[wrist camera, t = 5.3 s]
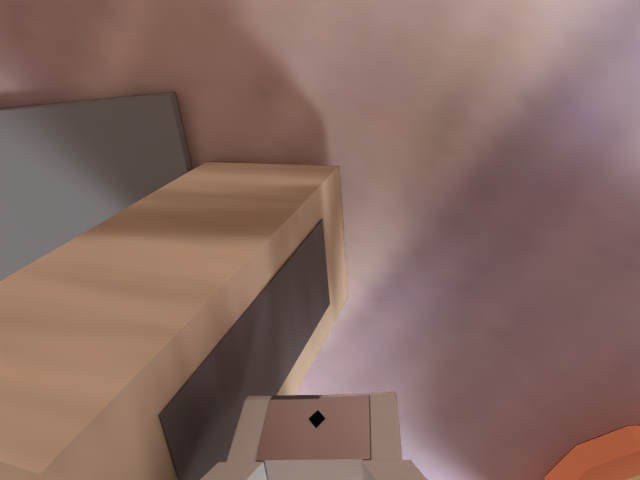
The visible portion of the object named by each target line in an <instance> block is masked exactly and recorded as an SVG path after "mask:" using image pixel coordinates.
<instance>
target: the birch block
mask: <svg viewBox="0 0 640 480" xmlns="http://www.w3.org/2000/svg"><path fill="white" fill-rule="evenodd" d="M347 298H348V287H347V272H346V257H345V242H344V227H343V212H342V197H341V182H340V167H339V166H326V165H293V164H260V163H227V162H205V163H203V164H202V165H200V166H198V167H196V168H195V169H193V170H191V171H189V172H188V173H186V174H184V175H183V176H181V177H179V178H177V179H176V180H174V181H172V182H170V183H169V184H167V185H165V186H164V187H162V188H160V189H158V190H157V191H155V192H153V193H151V194H150V195H148V196H146V197H145V198H143V199H141V200H139V201H138V202H136V203H134V204H132V205H131V206H129V207H127V208H126V209H124V210H122V211H120V212H119V213H117V214H115V215H113V216H112V217H110V218H108V219H107V220H105V221H103V222H101V223H100V224H98V225H96V226H94V227H93V228H91V229H89V230H88V231H86V232H84V233H82V234H81V235H79V236H77V237H75V238H74V239H72V240H70V241H69V242H67V243H65V244H63V245H62V246H60V247H58V248H56V249H55V250H53V251H51V252H50V253H48V254H46V255H44V256H43V257H41V258H39V259H37V260H36V261H34V262H32V263H31V264H29V265H27V266H25V267H24V268H22V269H20V270H18V271H17V272H15V273H13V274H12V275H10V276H8V277H6V278H5V279H3V280H1V281H0V480H200V479H201V478H202V477H203V476H204V475H205V474H206V473H208V472H209V471H210V470H211V469H212V468H213V467H214V466H215V465H216V464H217V463H218V462H226V460H227V457H228V454H229V450H230V447H231V444H232V440H233V437H234V434H235V430H236V427H237V423H238V420H239V417H240V413H241V410H242V407H243V403H244V401H245V400H246V398H247V397H248V396H273V395H295V394H296V392H297V390H298V389H299V387H300V385H301V383H302V381H303V379H304V377H305V376H306V374H307V372H308V370H309V368H310V366H311V365H312V363H313V361H314V359H315V357H316V355H317V354H318V352H319V350H320V348H321V346H322V344H323V342H324V341H325V339H326V337H327V335H328V333H329V331H330V330H331V328H332V326H333V324H334V322H335V320H336V319H337V317H338V315H339V313H340V311H341V309H342V307H343V306H344V304H345V302H346V300H347Z"/></svg>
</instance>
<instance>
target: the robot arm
mask: <svg viewBox="0 0 640 480" xmlns="http://www.w3.org/2000/svg"><path fill="white" fill-rule="evenodd" d="M200 480H427V478H426V477H425V476H424V475H423V474H422V473H421V472H420V470H419V469H418V468H417V467H416V466H415V465H414V464H413V462H412V461H411V460H402V449H401V438H400V426H399V415H398V404H397V395H396V393H395V392H382V393H365V394H337V395H273V396H248V397H247V398H246V400H245V401H244V403H243V407H242V410H241V413H240V417H239V420H238V423H237V427H236V430H235V434H234V437H233V440H232V444H231V447H230V450H229V454H228V457H227V460H226V462H218V463H217V464H216V465H215V466H214V467H213V468H212V469H211V470H210V471H209V472H208V473H206V474H205V475H204V476H203V477H202V478H201V479H200Z"/></svg>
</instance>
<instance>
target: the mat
mask: <svg viewBox="0 0 640 480" xmlns="http://www.w3.org/2000/svg"><path fill="white" fill-rule="evenodd" d="M191 170H192V166H191V162H190V157H189V153H188V148H187V144H186V139H185V135H184V130H183V126H182V121H181V117H180V112H179V108H178V103H177V99H176V94H175V92H170V93H160V94H149V95H138V96H128V97H117V98H107V99H96V100H85V101H75V102H64V103H54V104H43V105H32V106H22V107H11V108H1V109H0V281H1V280H3V279H5V278H6V277H8V276H10V275H12V274H13V273H15V272H17V271H18V270H20V269H22V268H24V267H25V266H27V265H29V264H31V263H32V262H34V261H36V260H37V259H39V258H41V257H43V256H44V255H46V254H48V253H50V252H51V251H53V250H55V249H56V248H58V247H60V246H62V245H63V244H65V243H67V242H69V241H70V240H72V239H74V238H75V237H77V236H79V235H81V234H82V233H84V232H86V231H88V230H89V229H91V228H93V227H94V226H96V225H98V224H100V223H101V222H103V221H105V220H107V219H108V218H110V217H112V216H113V215H115V214H117V213H119V212H120V211H122V210H124V209H126V208H127V207H129V206H131V205H132V204H134V203H136V202H138V201H139V200H141V199H143V198H145V197H146V196H148V195H150V194H151V193H153V192H155V191H157V190H158V189H160V188H162V187H164V186H165V185H167V184H169V183H170V182H172V181H174V180H176V179H177V178H179V177H181V176H183V175H184V174H186V173H188V172H189V171H191Z"/></svg>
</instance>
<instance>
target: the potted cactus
mask: <svg viewBox="0 0 640 480" xmlns="http://www.w3.org/2000/svg"><path fill="white" fill-rule="evenodd" d="M544 480H640V425H638V426H626V427H624V428H621V429H618V430H616V431H613V432H610V433H608V434H605V435H602V436H600V437H597V438H595V439H592V440H589V441H587V442H584V443H581V444H579V445H576V446H575V447H574V448H573V449H572V450H571V451H570V452H569V453H568V454H567V455H566V456H565V457H564V458H563V459H562V460H561V461H560V462H559V463H558V464H557V465H556V466H555V467H554V468H553V469H552V470H551V471H550V472H549V473H548V474H547V475H546V476H545V478H544Z"/></svg>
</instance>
